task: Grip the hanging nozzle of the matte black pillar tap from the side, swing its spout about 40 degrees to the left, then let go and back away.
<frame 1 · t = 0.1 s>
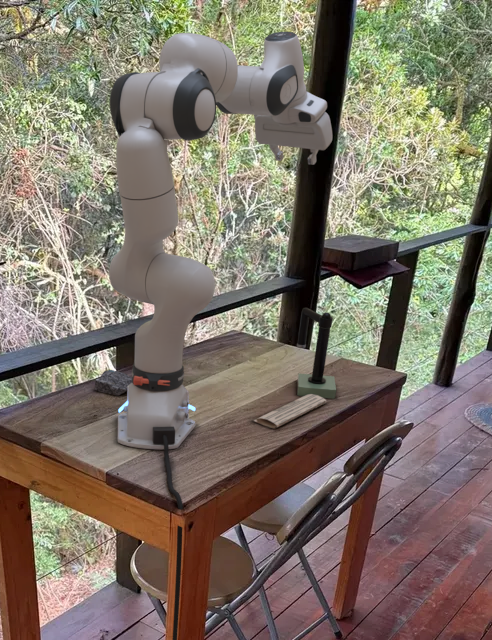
hand: (295, 161, 191), 54 cm above the table, tool tilted 30°, fingers open, 8 cm apart
beige flat ridged bar: (290, 413, 190), on the table
rock: (116, 389, 198), on the table
spout: (314, 330, 201), point 15 cm above the table, hinge at 0.0°
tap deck: (315, 390, 205), on the table
tap pillar: (320, 354, 200), on the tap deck, point 10 cm above the table
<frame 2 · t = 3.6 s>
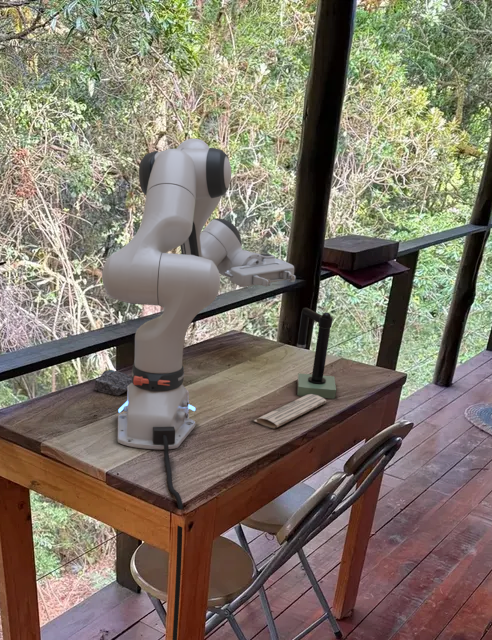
hand: (281, 281, 207), 24 cm above the table, tool horizontal, fingers open, 8 cm apart
nothing on the table moved.
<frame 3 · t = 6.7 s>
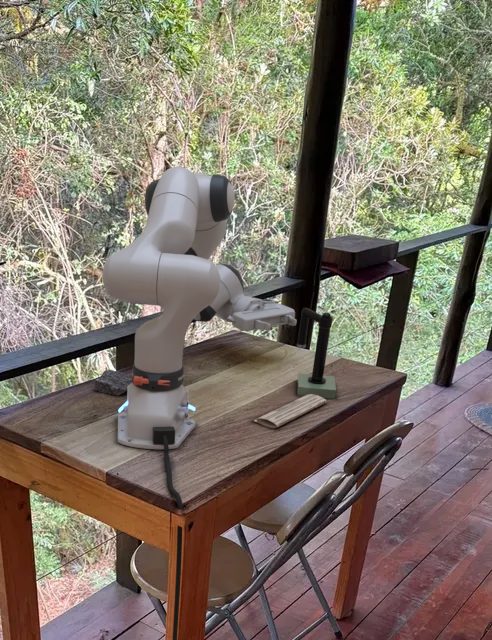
hand: (282, 325, 211), 13 cm above the table, tool horizontal, fingers open, 8 cm apart
nothing on the table moved.
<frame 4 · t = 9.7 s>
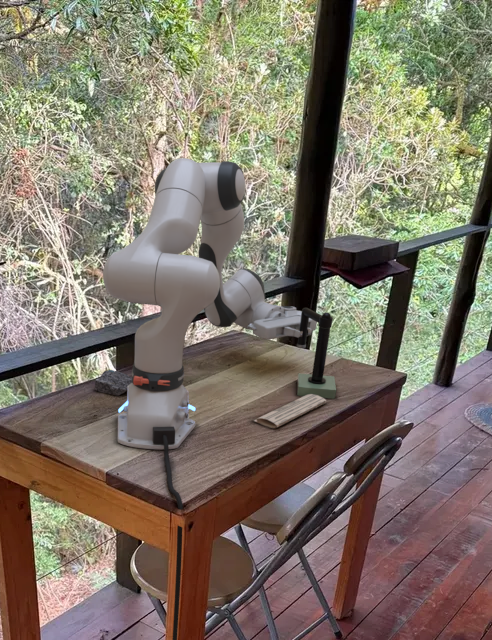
hand: (305, 333, 205), 13 cm above the table, tool horizontal, fingers closed on spout, 2 cm apart
spout: (314, 330, 201), point 15 cm above the table, hinge at 0.1°, touching gripper
everything else where it was.
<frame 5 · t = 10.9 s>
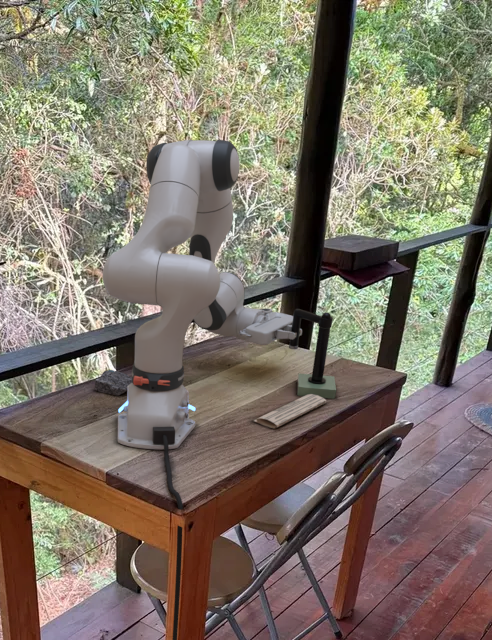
hand: (298, 334, 204), 13 cm above the table, tool horizontal, fingers closed on spout, 2 cm apart
spout: (310, 331, 200), point 15 cm above the table, hinge at 15.9°, touching gripper
everything else where it was.
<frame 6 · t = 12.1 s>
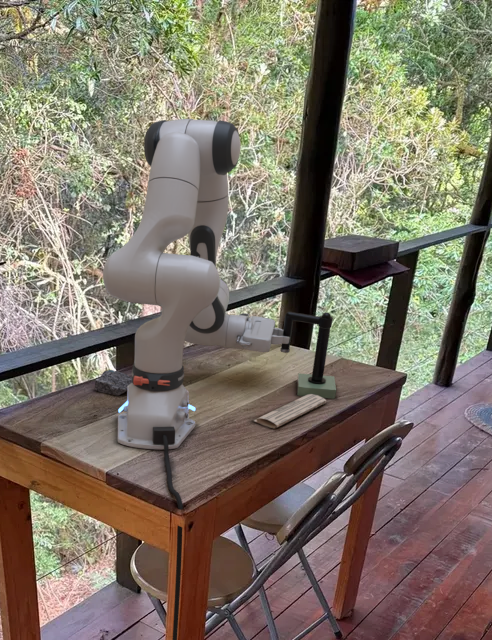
hand: (289, 337, 201), 13 cm above the table, tool horizontal, fingers open, 3 cm apart
spout: (306, 332, 199), point 15 cm above the table, hinge at 41.1°
everything else where it was.
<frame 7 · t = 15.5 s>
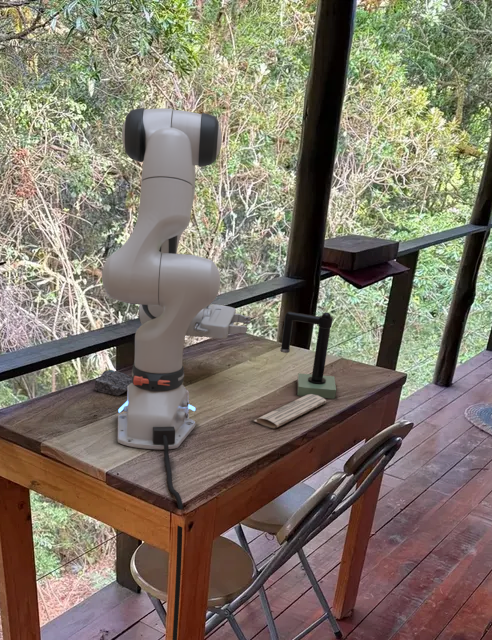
hand: (248, 324, 202), 15 cm above the table, tool horizontal, fingers open, 8 cm apart
nothing on the table moved.
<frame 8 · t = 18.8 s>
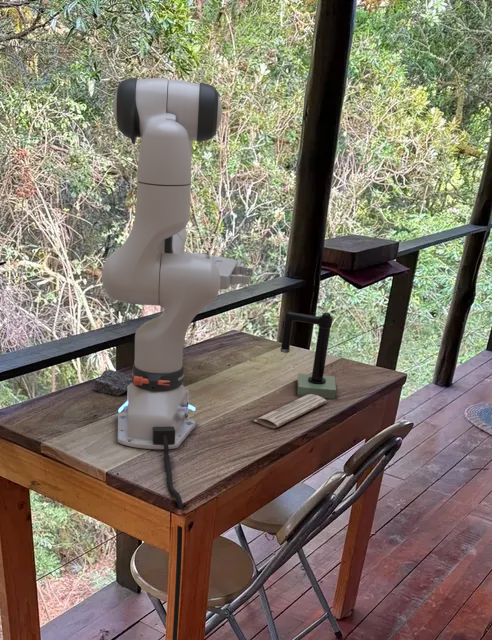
hand: (250, 276, 195), 28 cm above the table, tool horizontal, fingers open, 8 cm apart
nothing on the table moved.
at the end: spout at +41° (first picture: +0°); the gripper is holding nothing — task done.
